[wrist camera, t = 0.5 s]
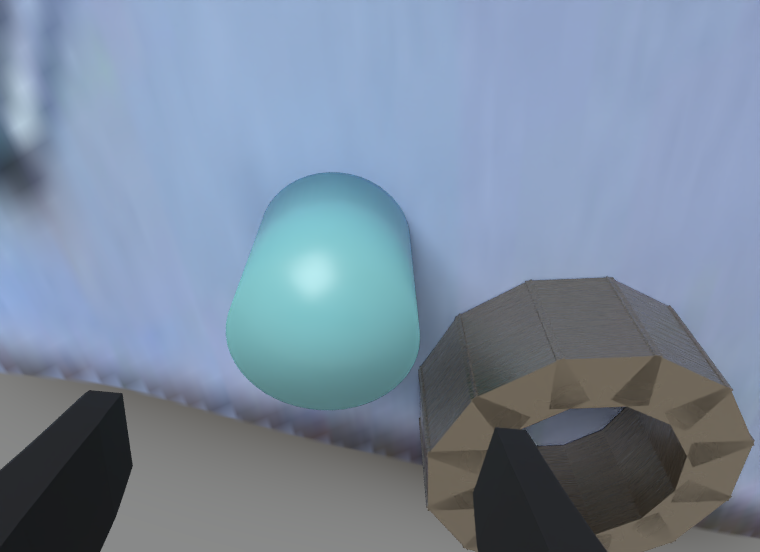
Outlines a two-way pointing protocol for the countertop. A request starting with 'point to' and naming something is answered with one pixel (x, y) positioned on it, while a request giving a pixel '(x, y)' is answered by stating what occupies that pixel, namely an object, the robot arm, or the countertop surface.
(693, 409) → the brown faceted tube
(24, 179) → the countertop surface
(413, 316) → the teal rounded cylinder
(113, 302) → the countertop surface
